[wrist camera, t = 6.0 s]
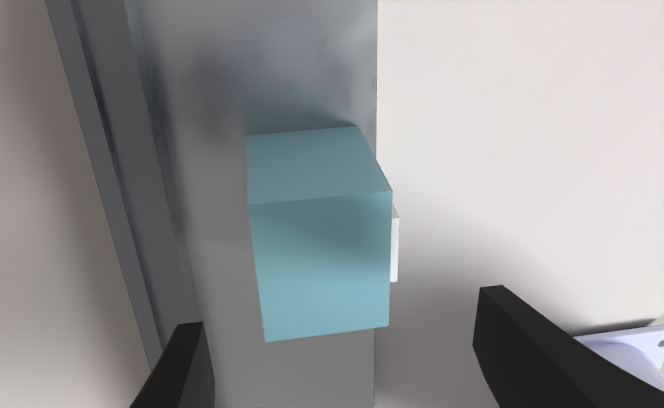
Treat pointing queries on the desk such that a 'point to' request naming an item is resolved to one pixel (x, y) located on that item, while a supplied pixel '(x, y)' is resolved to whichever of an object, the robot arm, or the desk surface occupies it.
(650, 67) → the desk surface
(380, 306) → the block
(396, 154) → the desk surface
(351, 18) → the rail board
